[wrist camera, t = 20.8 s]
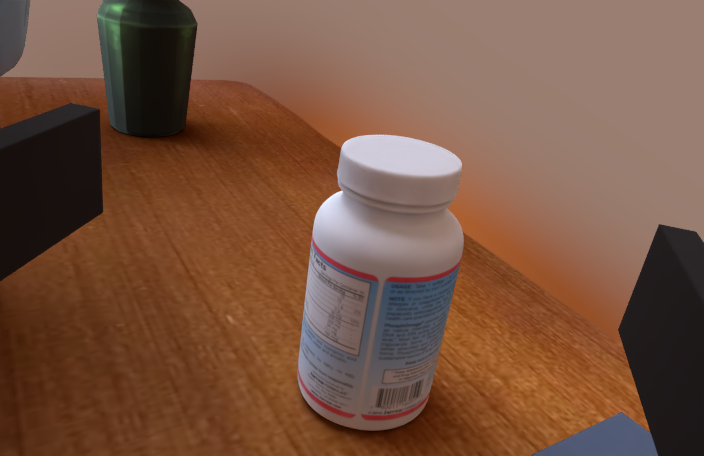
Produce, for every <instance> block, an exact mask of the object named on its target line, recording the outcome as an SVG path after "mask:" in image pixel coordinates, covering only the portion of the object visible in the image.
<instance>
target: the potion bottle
mask: <svg viewBox="0 0 704 456" xmlns="http://www.w3.org/2000/svg"><path fill="white" fill-rule="evenodd" d="M97 21H98V29H99V37H100V45H101V54H102V63H103V71H104V79H105V88H106V96H107V104H108V113H109V121H110V124H111V125H112V126H113V127H114V128H115V129H117V130H118V131H120V132H123V133H126V134H130V135H136V136H146V137H160V136H169V135H173V134H176V133H178V132H180V131H181V130H182V129H183V128H184V127H185V124H186V116H187V107H188V99H189V90H190V82H191V74H192V65H193V57H194V48H195V39H196V31H197V22H196V20H195V18H194V16H193V13H192V12H191V10H190V9H189V8H188V7H187V6H186V5H184V4H183V3H182V2H180V1H179V0H104V1H103V2H102V4H101V6H100V8H99V10H98V12H97Z"/></svg>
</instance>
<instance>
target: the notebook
mask: <svg viewBox="0 0 704 456" xmlns="http://www.w3.org/2000/svg"><path fill="white" fill-rule="evenodd" d="M532 456H658V454H657V451H656V448H655V445H654V441H653V438H652V435H651V434H650V433H649V432H648V431H646V430H645V429H644V428H642V427H641V426H640V425H638V424H637V423H636V422H634V421H633V420H632V419H630V418H629V417H628V416H626V415H625V414H624V413H622V412H621V413H619V414H617V415H615V416H613V417H610V418H608V419H606V420H604V421H602V422H600V423H598V424H596V425H594V426H592V427H590V428H587V429H585V430H583V431H581V432H579V433H577V434H575V435H573V436H571V437H569V438H567V439H564V440H562V441H560V442H558V443H556V444H554V445H552V446H550V447H548V448H546V449H544V450H541V451H539V452H537V453H535V454H533V455H532Z"/></svg>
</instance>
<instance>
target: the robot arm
mask: <svg viewBox="0 0 704 456" xmlns="http://www.w3.org/2000/svg"><path fill="white" fill-rule="evenodd" d="M29 6H30V0H0V76H2V75H3V74H5V73H6V72H8V71H9V70H11V69H12V68H13V67H15V65H16V64H17V62H18V61H19V59H20V58H21V56H22V53H23V50H24V46H25V39H26V33H27V25H28V17H29ZM101 213H103V197H102V166H101V135H100V109H96V108H92V107H87V106H82V105H77V104H72V103H70V104H67V105H65V106H62V107H59V108H56V109H54V110H51V111H48V112H45V113H43V114H40V115H37V116H34V117H32V118H29V119H26V120H23V121H21V122H18V123H15V124H13V125H10V126H7V127H4V128H2V129H0V281H1V280H3V279H4V278H6V277H7V276H9V275H10V274H12V273H13V272H15V271H16V270H18V269H19V268H21V267H22V266H24V265H25V264H27V263H28V262H29V261H31V260H32V259H34V258H35V257H37V256H38V255H40V254H41V253H43V252H44V251H46V250H47V249H49V248H50V247H52V246H53V245H55V244H56V243H58V242H59V241H61V240H62V239H64V238H65V237H67V236H68V235H70V234H71V233H73V232H74V231H76V230H77V229H79V228H80V227H82V226H83V225H85V224H86V223H88V222H89V221H91V220H92V219H94V218H95V217H97V216H98V215H100V214H101ZM618 331H619V334H620V337H621V340H622V343H623V347H624V350H625V353H626V356H627V359H628V362H629V366H630V369H631V372H632V375H633V378H634V381H635V385H636V388H637V391H638V394H639V397H640V400H641V403H642V407H643V410H644V413H645V416H646V419H647V422H648V426H649V429H650V432H651V435H652V438H653V441H654V445H655V448H656V451H657V454H658V456H704V242H703V241H702V240H701V238H700V237H699V235H698V234H697V232H694V231H689V230H684V229H680V228H675V227H670V226H665V225H659V227H658V229H657V231H656V234H655V236H654V239H653V242H652V244H651V247H650V249H649V252H648V254H647V257H646V259H645V262H644V265H643V267H642V270H641V272H640V275H639V278H638V280H637V283H636V285H635V288H634V290H633V293H632V296H631V298H630V301H629V303H628V306H627V308H626V311H625V314H624V316H623V319H622V321H621V324H620V326H619V329H618Z"/></svg>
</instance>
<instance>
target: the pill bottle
mask: <svg viewBox="0 0 704 456" xmlns="http://www.w3.org/2000/svg"><path fill="white" fill-rule="evenodd" d="M461 172H462V162H461V161H460V159H459V158H458V157H457V156H456V155H454V154H453V153H451V152H450V151H448V150H446V149H444V148H442V147H440V146H437V145H434V144H431V143H428V142H425V141H421V140H416V139H412V138H407V137H400V136H393V135H365V136H359V137H355V138H352V139H349V140H348V141H346V142H345V143H344V144H343V146H342V148H341V153H340V160H339V167H338V170H337V177H338V184H339V187H340V188H341V190H342V191H340V192H337V193H336V194H334V195H332V196H331V197H329V198H328V199H327V200H326V201H325V202H324V203H323V204H322V205H321V207H320V209H319V210H318V212H317V214H316V217H315V221H314V227H313V234H312V242H311V251H310V261H309V270H308V278H307V287H306V295H305V304H304V313H303V323H302V332H301V342H300V352H299V361H298V383H299V387H300V390H301V393H302V395H303V397H304V398H305V400H306V401H307V403H308V404H309V405H310V406H311V407H312V408H313V409H314V410H315V411H316V412H317V413H319V414H320V415H321V416H323V417H324V418H326V419H328V420H330V421H332V422H334V423H337V424H339V425H342V426H345V427H349V428H353V429H359V430H370V431H376V430H387V429H392V428H396V427H399V426H402V425H404V424H406V423H408V422H410V421H412V420H413V419H414V418H416V417H417V416H418V415H419V414H420V413H421V411H422V410H423V409H424V407H425V405H426V403H427V401H428V398H429V394H430V390H431V386H432V382H433V378H434V373H435V369H436V365H437V360H438V356H439V352H440V347H441V343H442V338H443V334H444V330H445V325H446V321H447V317H448V312H449V308H450V304H451V300H452V295H453V291H454V287H455V283H456V278H457V274H458V270H459V266H460V261H461V257H462V251H463V245H464V238H463V232H462V229H461V226H460V224H459V222H458V220H457V219H456V217H455V216H454V215H453V214H452V213H451V211H449V210H448V209H447V207H449V206H450V205H451V204H452V203H453V201H454V198H455V197H456V196H457V194H458V186H459V182H460V177H461Z"/></svg>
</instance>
